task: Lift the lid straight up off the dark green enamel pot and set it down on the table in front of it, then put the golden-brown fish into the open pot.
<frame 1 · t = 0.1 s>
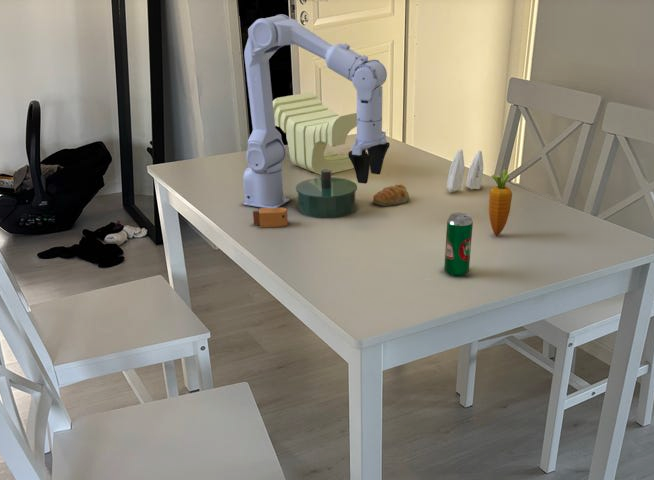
hand: (369, 178, 174), 10 cm above the table, tool pointing down, fingers open, 7 cm apart
pot: (327, 208, 186), on the table
carrot: (496, 236, 169), on the table
shaker set: (463, 191, 197), on the table
pot lid: (326, 188, 184), point 5 cm above the table, touching pot
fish: (270, 224, 176), on the table
slatted curved stool: (323, 167, 217), on the table
soda can: (456, 273, 152), on the table
pastry: (391, 202, 190), on the table
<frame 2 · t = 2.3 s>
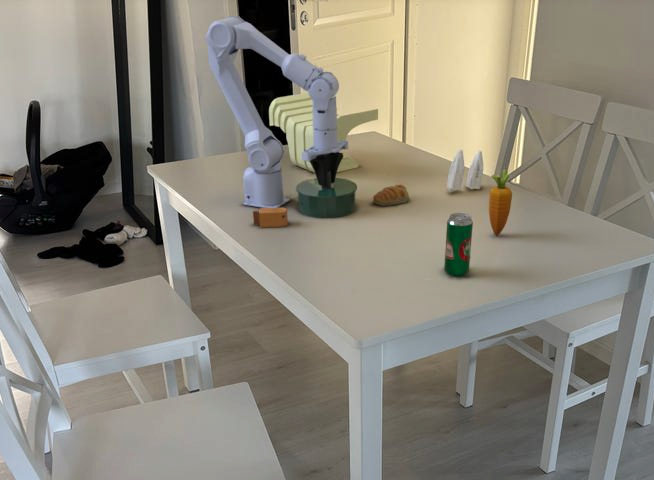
hand: (326, 183, 183), 6 cm above the table, tool pointing down, fingers closed on pot lid, 2 cm apart
pot lid: (326, 188, 184), point 5 cm above the table, touching gripper, pot
everything else where it was.
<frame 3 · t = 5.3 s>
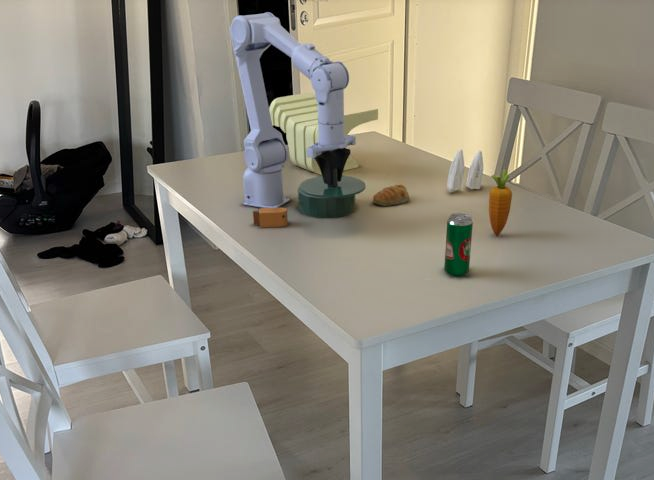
hand: (332, 182, 170), 10 cm above the table, tool pointing down, fingers closed on pot lid, 2 cm apart
pot lid: (332, 187, 171), point 9 cm above the table, touching gripper
everything else where it was.
when the fingers open (2 cm above the table, at t = 8.1 s): pot lid stays where it is, point 1 cm above the table.
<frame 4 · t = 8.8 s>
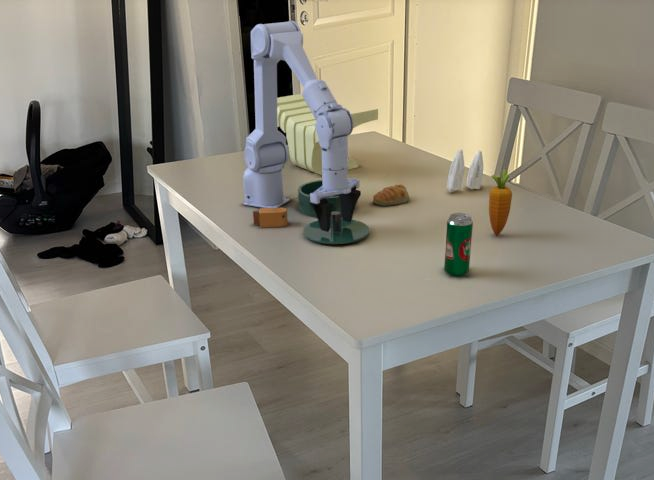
hand: (336, 225, 170), 2 cm above the table, tool pointing down, fingers open, 7 cm apart
pot lid: (336, 231, 171), point 1 cm above the table
everything else where it was.
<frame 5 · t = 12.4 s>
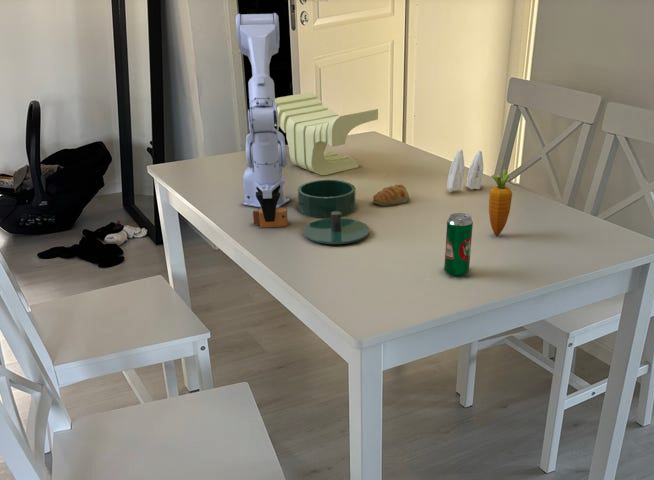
hand: (270, 218, 176), 2 cm above the table, tool pointing down, fingers closed on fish, 3 cm apart
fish: (270, 224, 176), on the table, touching gripper
everything else where it was.
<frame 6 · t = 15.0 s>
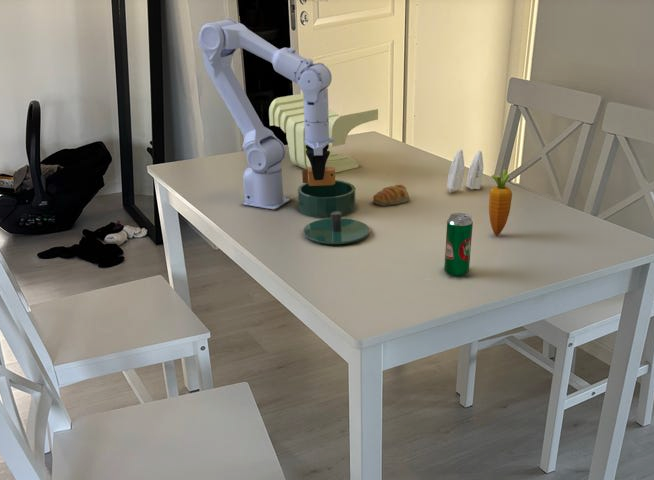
hand: (318, 177, 180), 8 cm above the table, tool pointing down, fingers closed on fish, 3 cm apart
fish: (318, 183, 181), point 7 cm above the table, touching gripper
everything else where it was.
when the fingers open (2 cm above the table, at t = 17.5 s): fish stays where it is, resting on pot.
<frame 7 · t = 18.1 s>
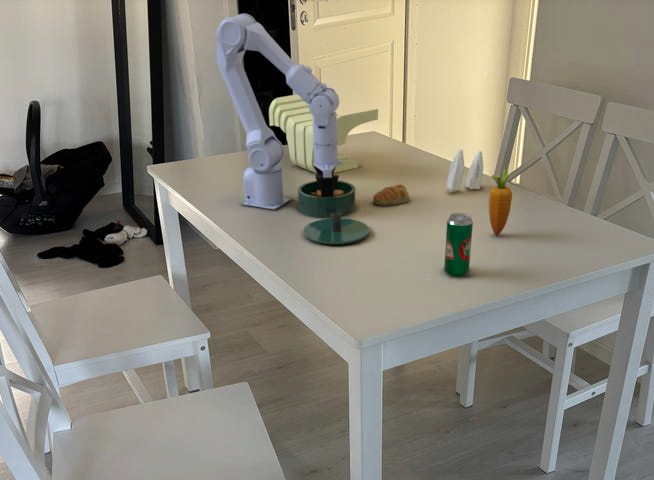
hand: (326, 197, 185), 3 cm above the table, tool pointing down, fingers open, 7 cm apart
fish: (327, 206, 186), point 1 cm above the table, touching pot
everything else where it was.
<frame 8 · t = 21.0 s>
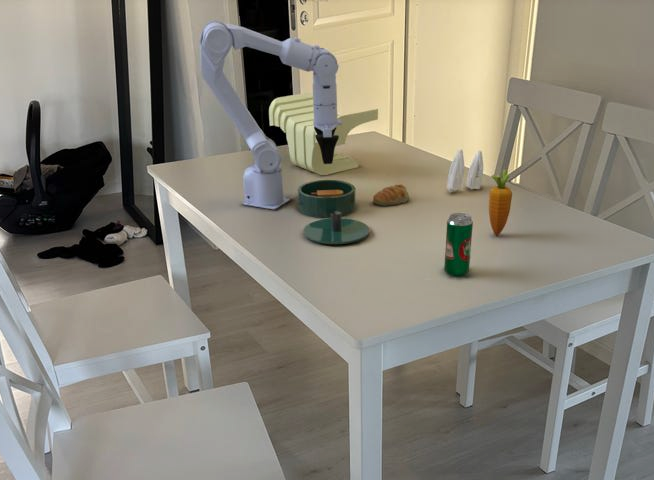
hand: (327, 159, 187), 10 cm above the table, tool pointing down, fingers open, 7 cm apart
nothing on the table moved.
at the end: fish inside the target area in the pot (0.0 cm from its centre), point 0.5 cm above the pot's base; pot lid inside the target area (0.0 cm from its centre), point 0.6 cm above the table; pot lid tilted 0° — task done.
